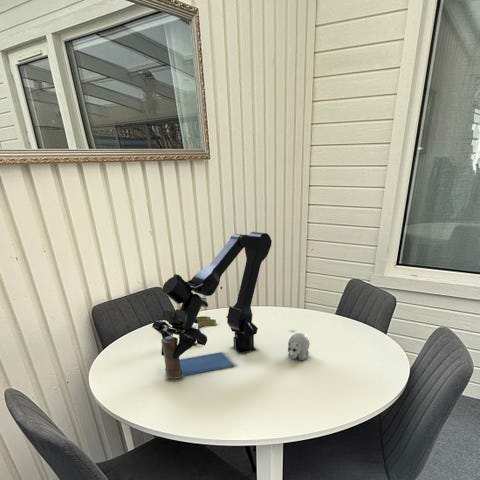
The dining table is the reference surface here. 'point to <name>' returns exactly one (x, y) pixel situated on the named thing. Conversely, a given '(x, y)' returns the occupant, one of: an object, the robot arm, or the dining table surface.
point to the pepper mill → (171, 357)
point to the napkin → (204, 363)
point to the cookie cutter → (205, 321)
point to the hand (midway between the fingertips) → (168, 357)
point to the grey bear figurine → (298, 346)
